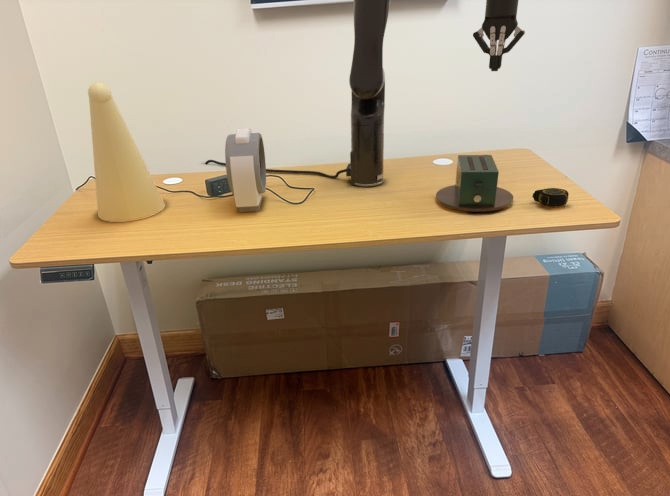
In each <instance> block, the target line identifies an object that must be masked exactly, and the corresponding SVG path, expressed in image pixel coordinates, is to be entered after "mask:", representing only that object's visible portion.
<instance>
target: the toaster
mask: <svg viewBox="0 0 670 496" xmlns="http://www.w3.org/2000/svg"><path fill="white" fill-rule="evenodd" d="M456 160H457V162H456V176H455V184H454V185H448V186H446V187H442V188H441V189H439V190H437V191H436V193H435V200H436V202H437V203H438V204H440V205H442V206H443V207H446V208H448V209H452V210H457V211H462V212H463V211H464V212H479V213H480V212H481V213H482V212H492V211H493V212H494V211H498V210H503V209H505V208H508V207H510V206H511V205H512V204H513V202H514V199H515V198H514V197H515V196H514V195H513V194H512V192H510V191H509V190H507V189H505V188H502V187H499V186H498V183H499V170H498V167H497V165H496V163H495V160H494V157H493V155H492V154H457V159H456Z"/></svg>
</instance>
